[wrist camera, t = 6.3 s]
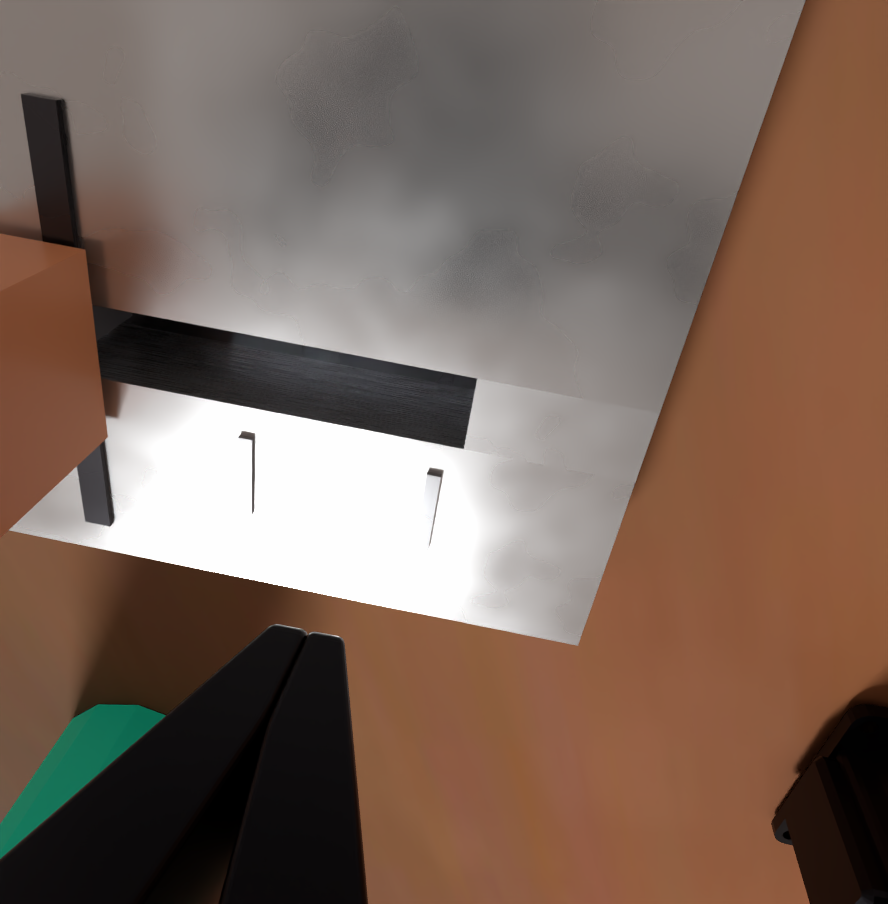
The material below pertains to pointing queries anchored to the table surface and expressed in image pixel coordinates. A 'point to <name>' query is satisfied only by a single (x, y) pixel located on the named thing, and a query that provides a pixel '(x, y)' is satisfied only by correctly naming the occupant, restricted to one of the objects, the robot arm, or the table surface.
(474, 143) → the grey slider board
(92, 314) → the fader orange
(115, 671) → the table surface
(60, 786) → the candle
